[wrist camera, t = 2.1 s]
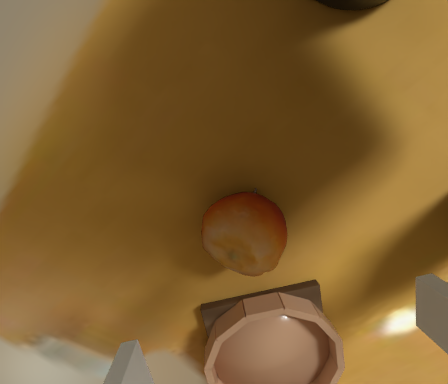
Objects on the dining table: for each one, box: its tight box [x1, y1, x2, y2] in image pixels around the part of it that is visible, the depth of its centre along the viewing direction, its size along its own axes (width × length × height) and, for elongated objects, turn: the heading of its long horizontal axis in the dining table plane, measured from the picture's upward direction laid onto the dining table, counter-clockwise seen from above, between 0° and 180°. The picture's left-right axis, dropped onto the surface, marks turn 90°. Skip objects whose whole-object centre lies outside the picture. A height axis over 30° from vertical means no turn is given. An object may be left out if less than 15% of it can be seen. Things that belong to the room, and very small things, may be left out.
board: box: [201, 280, 323, 339], centre depth 28 cm, size 15×14×1 cm
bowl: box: [204, 292, 345, 384], centre depth 27 cm, size 16×16×2 cm
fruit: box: [201, 188, 287, 276], centre depth 22 cm, size 8×8×8 cm
